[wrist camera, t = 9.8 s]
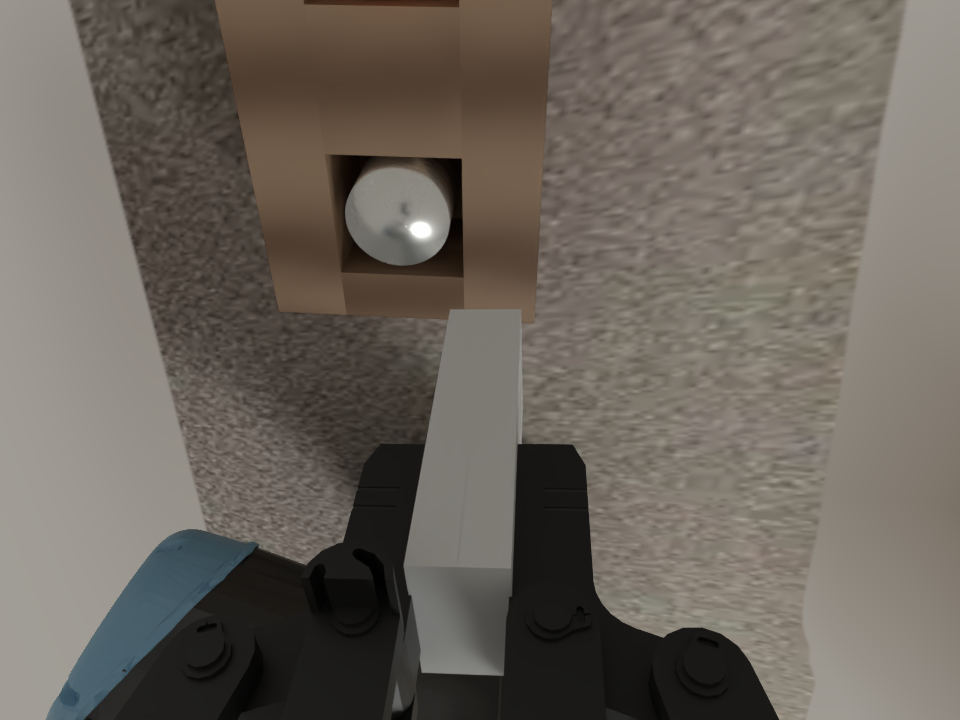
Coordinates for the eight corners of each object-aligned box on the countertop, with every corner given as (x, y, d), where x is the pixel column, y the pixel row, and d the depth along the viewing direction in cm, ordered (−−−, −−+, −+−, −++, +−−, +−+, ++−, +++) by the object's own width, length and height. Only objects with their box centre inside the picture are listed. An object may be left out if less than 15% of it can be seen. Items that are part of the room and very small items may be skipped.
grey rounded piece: (463, 209, 39) (450, 267, 35) (375, 206, 40) (351, 263, 35) (461, 121, 37) (448, 172, 32) (366, 119, 37) (339, 168, 32)
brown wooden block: (536, 252, 42) (534, 323, 37) (314, 243, 43) (279, 311, 37) (566, -279, 28) (569, -293, 22) (231, -277, 29) (154, -291, 23)
